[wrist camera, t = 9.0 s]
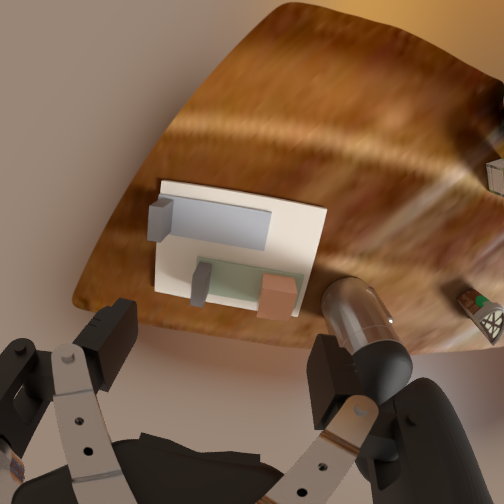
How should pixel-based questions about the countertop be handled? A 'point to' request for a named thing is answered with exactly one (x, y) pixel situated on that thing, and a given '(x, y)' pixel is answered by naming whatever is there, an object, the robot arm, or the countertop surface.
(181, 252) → the lane board
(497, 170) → the syrup box
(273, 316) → the block
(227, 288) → the block strip
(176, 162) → the countertop surface
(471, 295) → the food container
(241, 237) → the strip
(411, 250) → the countertop surface
